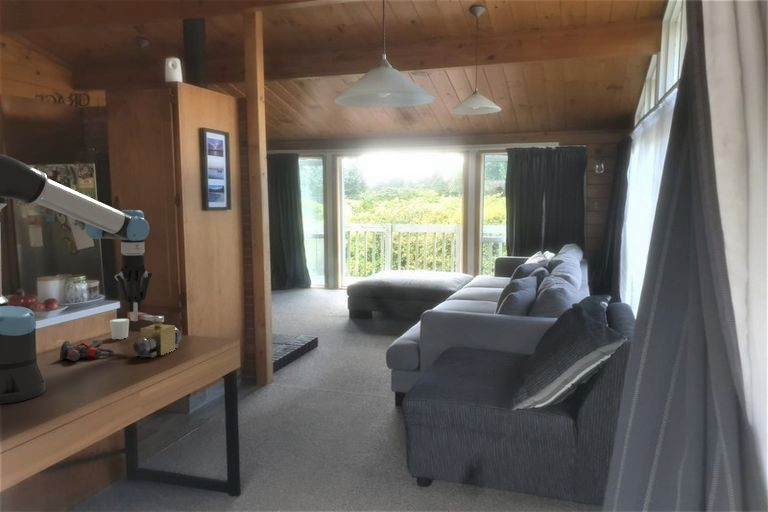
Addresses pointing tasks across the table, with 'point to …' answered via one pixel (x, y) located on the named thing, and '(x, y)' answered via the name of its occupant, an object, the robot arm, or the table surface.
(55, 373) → the table surface
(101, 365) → the table surface
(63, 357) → the valve
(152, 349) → the pipe valve
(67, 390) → the table surface
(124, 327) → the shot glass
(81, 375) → the table surface
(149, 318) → the lever
